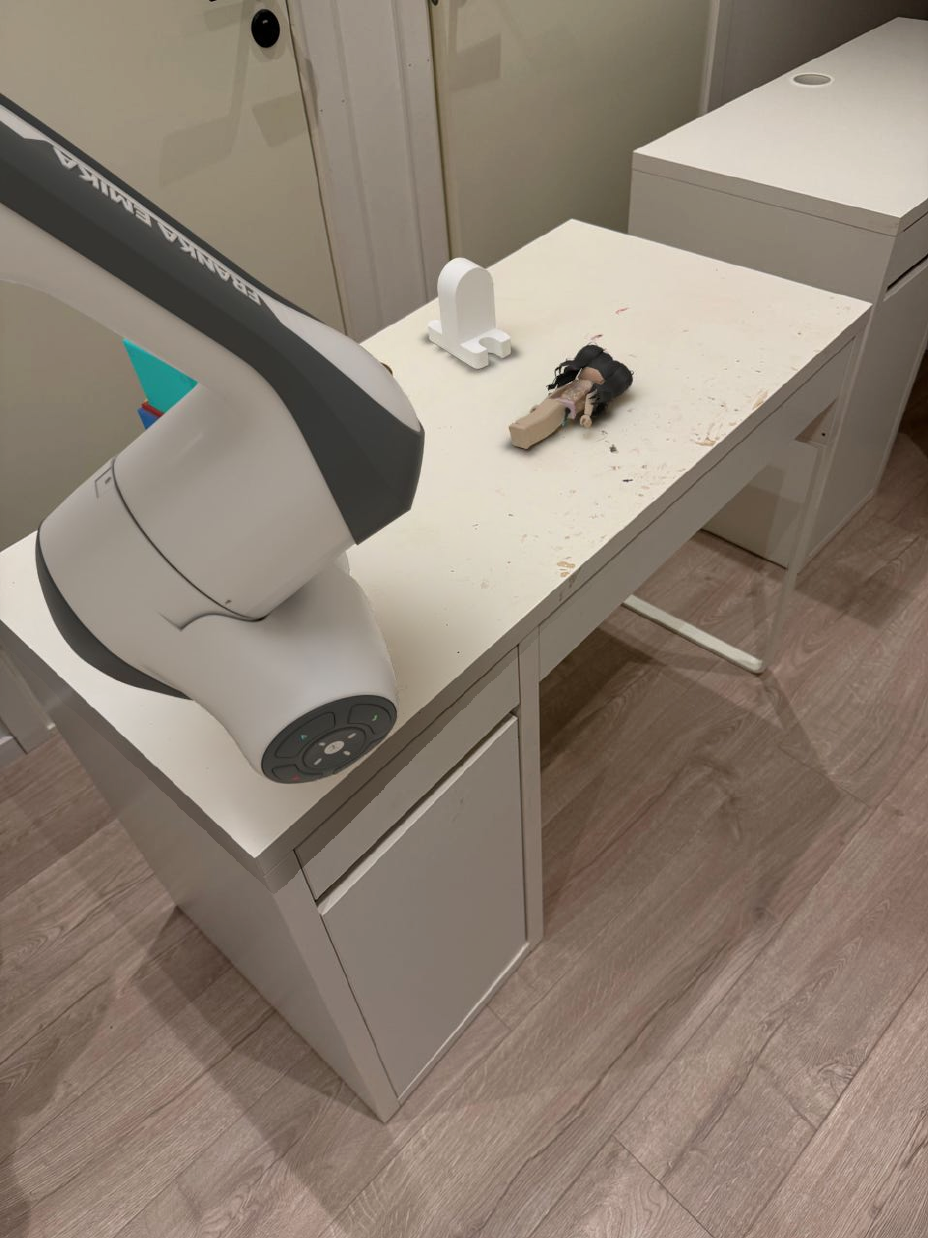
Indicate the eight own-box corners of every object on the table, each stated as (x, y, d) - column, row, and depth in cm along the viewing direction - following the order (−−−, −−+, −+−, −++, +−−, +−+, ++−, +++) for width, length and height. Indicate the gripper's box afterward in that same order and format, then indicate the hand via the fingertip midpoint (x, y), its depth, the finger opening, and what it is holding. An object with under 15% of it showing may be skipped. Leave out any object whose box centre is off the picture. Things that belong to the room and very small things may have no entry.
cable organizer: (477, 370, 100) (470, 285, 93) (427, 338, 106) (416, 256, 99) (513, 352, 102) (509, 268, 95) (462, 322, 108) (454, 241, 101)
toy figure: (563, 467, 87) (642, 388, 94) (554, 413, 83) (638, 334, 90) (506, 452, 91) (586, 377, 98) (495, 399, 87) (579, 325, 94)
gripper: (419, 452, 52) (352, 345, 61) (67, 561, 48) (52, 429, 57) (431, 532, 57) (367, 422, 66) (111, 637, 53) (90, 505, 62)
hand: (218, 426), depth 61 cm, fingers closed on toy robot, 7 cm apart
